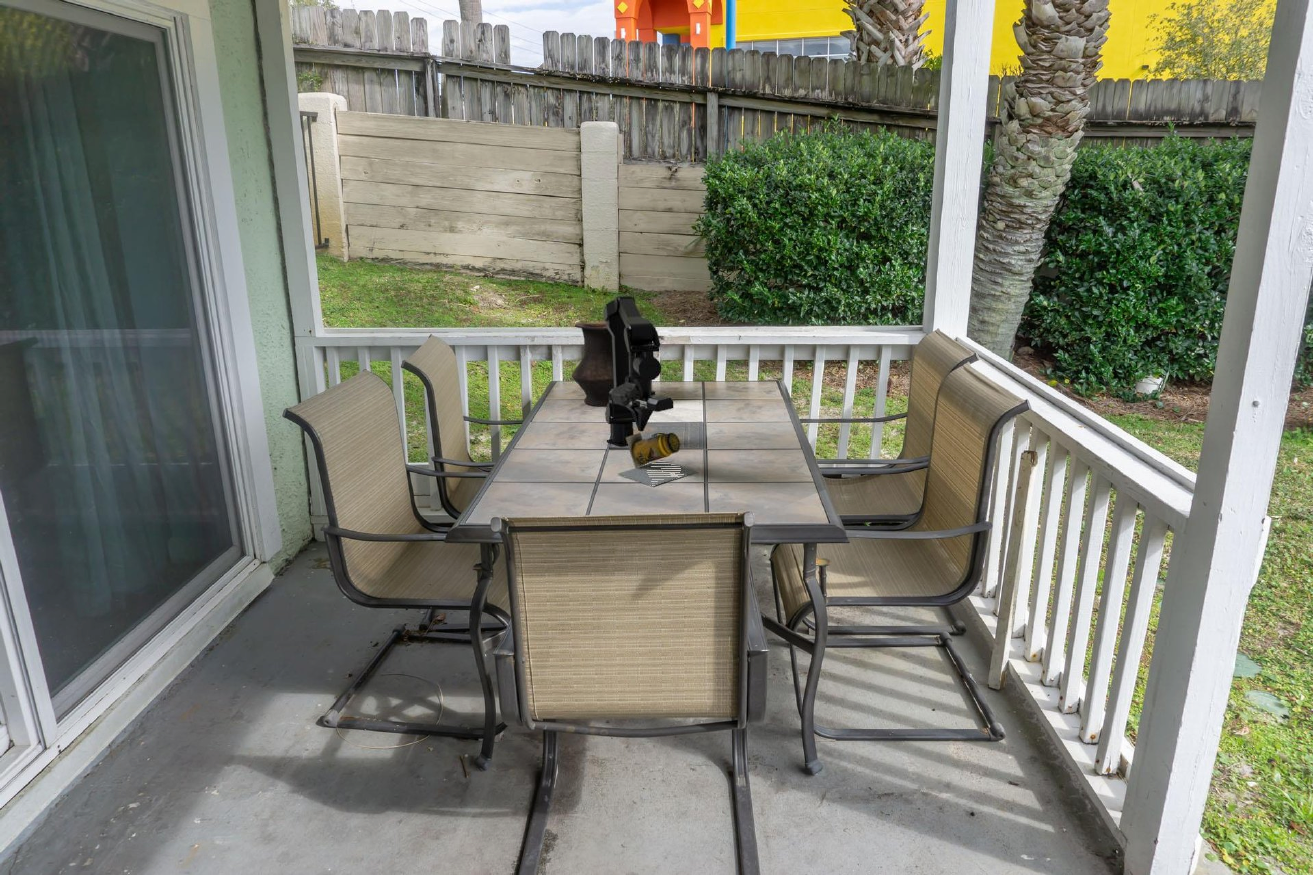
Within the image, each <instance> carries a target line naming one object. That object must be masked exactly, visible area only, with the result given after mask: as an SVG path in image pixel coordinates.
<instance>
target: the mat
mask: <svg viewBox="0 0 1313 875" xmlns="http://www.w3.org/2000/svg"><path fill="white" fill-rule="evenodd" d="M660 461H664V460H663V459H660ZM653 463H671V462H669V461H666V462H657V461H653ZM651 466H680V467H651ZM661 468H681V469H661ZM647 470H681V471H663V472H680V473H675V474H684V475H678V476H684V477H686V476H685V475H687V476H690V475H693V474H696V473H698V470H695V469H691V468H689V467H686V466H682V465H680V464H679V465H678V464H676V465H671V464H651V463H648V464H646V465H643V466H641V467H638V468H635V467H634V468H631V469H629V470H624V471H622V472H619V473H617V475H618V474H619V475H618V476H620V475H621V476H620V477H623V476H625V477H627V478H626V479H628V478H629V480H631V479H633V480H632V481H634V480H635V481H634V482H637V481H639V482H638V483H640V482H641V484H643V483H645V484H644V485H646V484H647V485H646V486H648V485H651V486H652V485H657V484H660V483H663V484H665V483H664V482H666V481H669V482H671V481H670V480H672V479H675V480H677V479H676V478H678V477H649V476H671V475H648V474H670V473H647V472H662V471H647ZM695 472H696V473H695ZM689 474H690V475H689ZM625 477H624V478H625ZM652 479H664V480H652ZM678 479H679V478H678ZM651 481H658V482H651ZM672 481H673V480H672ZM652 483H655V484H652ZM656 483H657V484H656ZM666 483H667V482H666ZM660 485H661V484H660ZM651 486H650V487H651ZM657 486H658V485H657Z"/></svg>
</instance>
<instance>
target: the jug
mask: <svg viewBox="0 0 1313 875" xmlns="http://www.w3.org/2000/svg"><path fill="white" fill-rule="evenodd" d="M574 327H575V328H578V329H581V331H582V334H583V335H582V336H583V340H584V341H583V343H584V354H583V358H582V359H581V361H580V362H579V363H578V364H577V366H576V367H575V368H574V369H573V371H572V373H571V377H572V380H574V381H575V382H576V383H577V385H578V386H579V387H580V388H581V390H583V392H584V394H585V398H584V400H583V401H584V402H583V403H585V404H587V405H592V406H607V404H608V403H609V392H610V391H611V389H614V372H613V347H612V335H611V333H610V332H609V330H608V329H607V327H606V321H604V320H603V321H597V322H596V321H592V322H583V323H582V322H580V323H577V324H575V325H574ZM631 347H632V346H631Z"/></svg>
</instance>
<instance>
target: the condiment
mask: <svg viewBox="0 0 1313 875" xmlns="http://www.w3.org/2000/svg"><path fill="white" fill-rule="evenodd" d="M626 441H627V444H628V445H627V446H628V449H629V452H630V457H631V459H632V462H633V465H634V468H638V467H641V466H644V465H645V464H646V465H647V463H648V464H650V463H653V462H656V461H659V460H663V459H664V458H667V457H670V456H671V455H673V454H675V453H676V454H677V453H678V452H679V451H680V449H681V442H680V439H679V437H678V435H677V434H676V433H674V432H669V433H665V434H664V433H661V434H658V435H654V436H652V437H649V438H645V439H643V437H642V433H641V432H638V433H635V434H634V435H632V436H629V437H626ZM649 462H650V463H649Z"/></svg>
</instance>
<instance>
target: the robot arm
mask: <svg viewBox="0 0 1313 875" xmlns="http://www.w3.org/2000/svg"><path fill="white" fill-rule="evenodd" d="M602 314H603V315H602V317H603V321H606V327H607V329H608V330H609V332H610V333H611V335H612V347H613V372H614V389H611V391H610V392H609V403H608V404H607V405H606V409H605V413H604V417H605V422H606V423H607V424H608V425H610V426H609V428H610V429H609V430H610V432H609V433H610V434H609V435H610V439H606V442H607V444H608V443H609V444H611V445H612V444H613V445H614V446H615V445H616V446H619V447H624V446H628V445H627V441H626V437H629V436H632V435H635V434H634V423H635V425H636V429H637V431H638V432H639V433H641V432H644V431H645V428H646V427H647V424H648V422H649V420H650V417H651V416H652V415H653V412H655V413H659V412H663V411H668V410H672V409H674V399H673V398H672V397H670V396H666V395H658V396H656V391H655V390H652V389H653V388H652V386H653V384H652V383H653V381H655V380H656V379H657V378H659V376H660V374H661V372H662V364H661V362H660V361H659V360H658V358H656V357H655V356H654V352H655V353H657V352H660V346H661V342H660V337H659V333H658V330H657V329H656V326H654V324H653V322H652V321H651V320H650V319H648V318H644V317H643V316H642V314H641V312H640V310H639V308H638V306H637V304H636V300H635V296H633V295H618V296H615V297H614V299H613V300H611V301H609V302H607V303H606V304H605V305H604V307H603V312H602ZM631 346H632V347H631Z"/></svg>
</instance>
